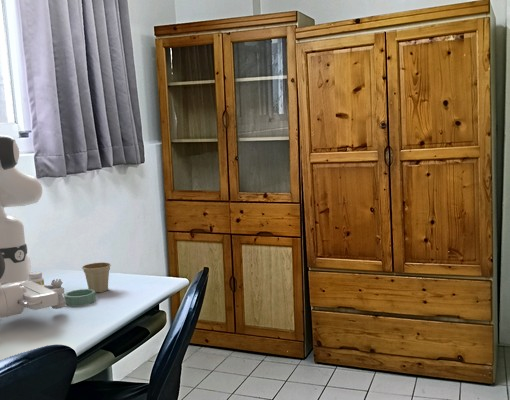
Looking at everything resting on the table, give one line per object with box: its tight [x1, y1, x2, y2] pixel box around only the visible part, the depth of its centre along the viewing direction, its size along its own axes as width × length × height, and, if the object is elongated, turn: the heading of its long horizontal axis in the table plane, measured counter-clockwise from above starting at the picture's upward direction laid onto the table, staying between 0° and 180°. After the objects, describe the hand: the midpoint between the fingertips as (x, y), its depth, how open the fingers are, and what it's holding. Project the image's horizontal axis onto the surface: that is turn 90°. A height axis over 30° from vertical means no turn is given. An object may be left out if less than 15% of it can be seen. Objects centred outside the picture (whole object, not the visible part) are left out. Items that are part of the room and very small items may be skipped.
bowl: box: [63, 288, 97, 307], centre depth 185 cm, size 9×9×3 cm
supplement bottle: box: [28, 271, 45, 286], centre depth 191 cm, size 5×5×8 cm
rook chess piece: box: [50, 278, 67, 310], centre depth 172 cm, size 4×4×8 cm
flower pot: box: [81, 261, 112, 294], centre depth 197 cm, size 9×9×9 cm
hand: (60, 288), depth 173 cm, fingers closed on rook chess piece, 3 cm apart
